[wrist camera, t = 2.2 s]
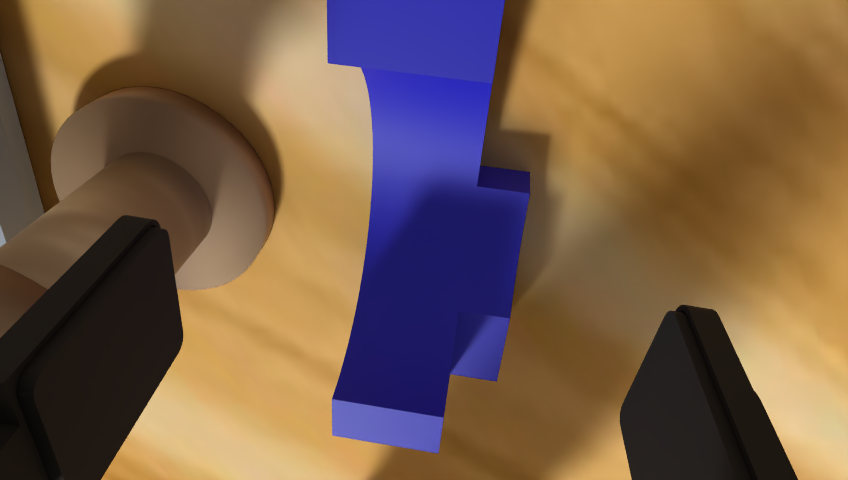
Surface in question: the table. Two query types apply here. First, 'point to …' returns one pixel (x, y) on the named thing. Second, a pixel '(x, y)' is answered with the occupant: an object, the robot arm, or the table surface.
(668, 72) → the table surface
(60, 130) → the door knob
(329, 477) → the table surface
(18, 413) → the robot arm
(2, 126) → the notched board
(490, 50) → the cable clip
